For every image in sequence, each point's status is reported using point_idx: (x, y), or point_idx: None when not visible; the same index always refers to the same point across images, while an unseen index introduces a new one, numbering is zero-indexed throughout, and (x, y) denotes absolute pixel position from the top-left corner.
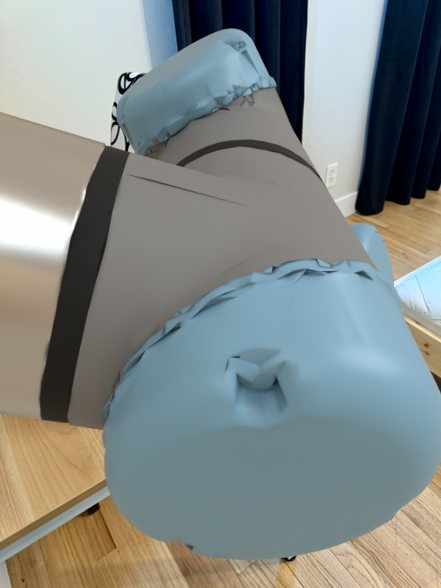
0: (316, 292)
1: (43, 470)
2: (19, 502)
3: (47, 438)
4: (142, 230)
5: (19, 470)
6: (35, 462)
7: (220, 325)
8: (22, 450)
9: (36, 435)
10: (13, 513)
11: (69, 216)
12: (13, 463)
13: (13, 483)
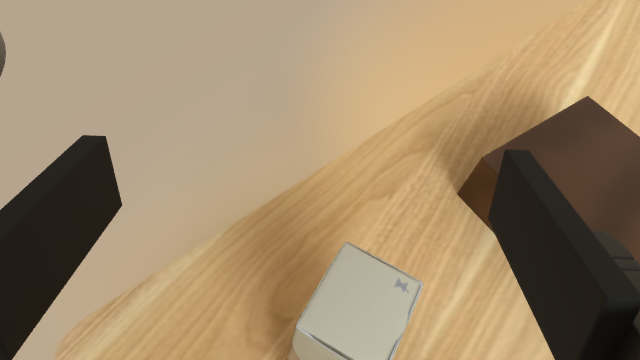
0: None
1: (162, 342)
2: (94, 337)
3: (229, 308)
4: None
5: (156, 298)
6: (176, 317)
7: None
8: (195, 279)
9: (230, 284)
10: (72, 340)
11: None
12: (168, 279)
13: (129, 303)
